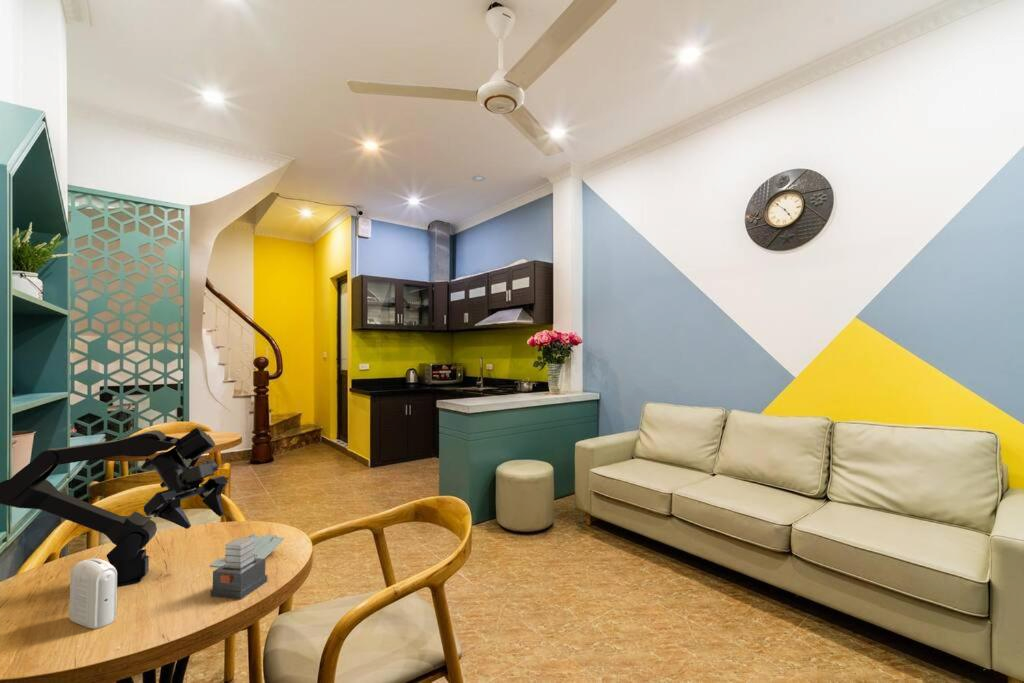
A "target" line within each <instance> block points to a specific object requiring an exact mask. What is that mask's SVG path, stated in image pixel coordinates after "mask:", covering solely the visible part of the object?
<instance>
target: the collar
mask: <svg viewBox="0 0 1024 683" xmlns="http://www.w3.org/2000/svg"><path fill="white" fill-rule="evenodd" d="M265 562H266V558H265V559H260V558H254V563H253V564H251V565H249V566H248V567H246V568H244V569H243V570H241V571H238V570H225V565H223V566H222V567H220V568H215V569H214V570H212V589H210V591H209V592H210V593H209V594H210V595H209V596H210V598H211V597H212V598H221V599H232V600H242V599H244V598H245V597H247V596H248V595H250V594H251V593H252V592H254V591H255V590H257V589H258V588H260V587H261V586H263V585H264V584H266V583H267V582H268V575H267V574H266V565H265Z"/></svg>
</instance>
